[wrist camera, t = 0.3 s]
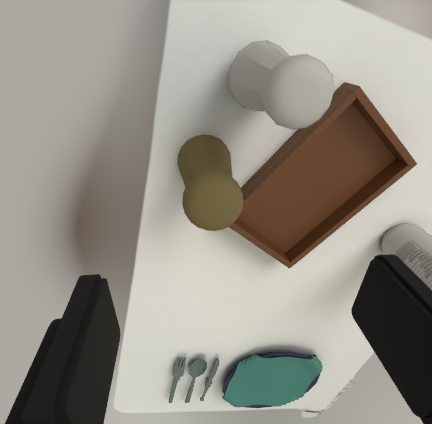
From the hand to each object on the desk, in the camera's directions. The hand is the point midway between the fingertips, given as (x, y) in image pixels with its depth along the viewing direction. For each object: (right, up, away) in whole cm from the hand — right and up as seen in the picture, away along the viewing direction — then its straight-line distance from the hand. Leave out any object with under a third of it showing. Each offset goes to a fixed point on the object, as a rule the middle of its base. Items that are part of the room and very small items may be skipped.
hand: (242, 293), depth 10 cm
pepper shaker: (-2, +9, +22) cm, 24 cm away
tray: (+11, +7, +25) cm, 28 cm away
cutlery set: (+5, -30, +46) cm, 55 cm away
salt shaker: (+3, +17, +18) cm, 24 cm away
